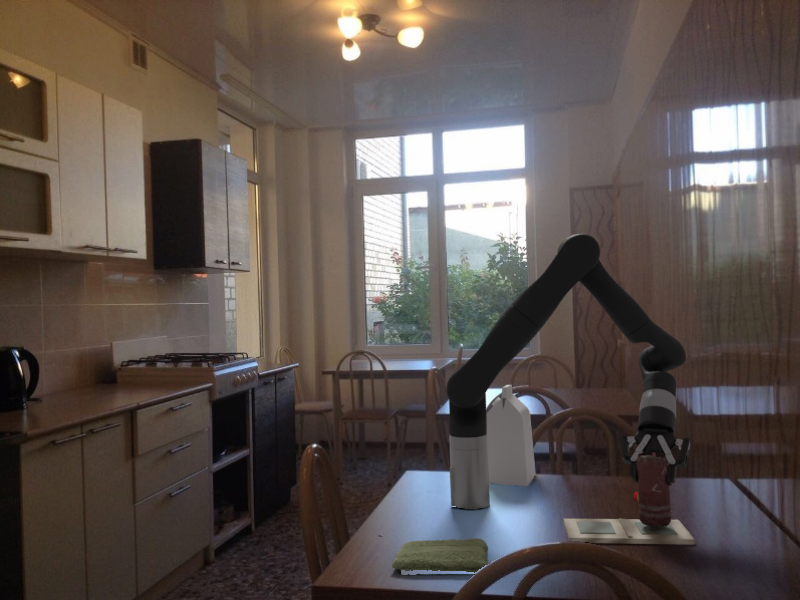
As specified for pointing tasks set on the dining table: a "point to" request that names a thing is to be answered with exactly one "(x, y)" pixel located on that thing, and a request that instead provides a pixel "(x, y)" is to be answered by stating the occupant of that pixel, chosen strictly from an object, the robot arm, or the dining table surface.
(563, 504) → the dining table surface
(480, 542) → the washcloth
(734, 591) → the dining table surface
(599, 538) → the white flat rectangular tray
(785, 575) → the dining table surface
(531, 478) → the milk
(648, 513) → the can
